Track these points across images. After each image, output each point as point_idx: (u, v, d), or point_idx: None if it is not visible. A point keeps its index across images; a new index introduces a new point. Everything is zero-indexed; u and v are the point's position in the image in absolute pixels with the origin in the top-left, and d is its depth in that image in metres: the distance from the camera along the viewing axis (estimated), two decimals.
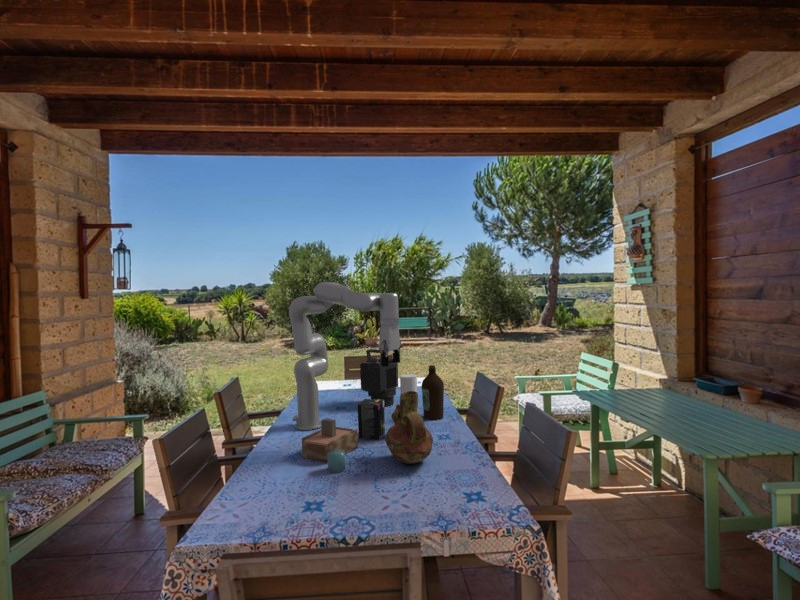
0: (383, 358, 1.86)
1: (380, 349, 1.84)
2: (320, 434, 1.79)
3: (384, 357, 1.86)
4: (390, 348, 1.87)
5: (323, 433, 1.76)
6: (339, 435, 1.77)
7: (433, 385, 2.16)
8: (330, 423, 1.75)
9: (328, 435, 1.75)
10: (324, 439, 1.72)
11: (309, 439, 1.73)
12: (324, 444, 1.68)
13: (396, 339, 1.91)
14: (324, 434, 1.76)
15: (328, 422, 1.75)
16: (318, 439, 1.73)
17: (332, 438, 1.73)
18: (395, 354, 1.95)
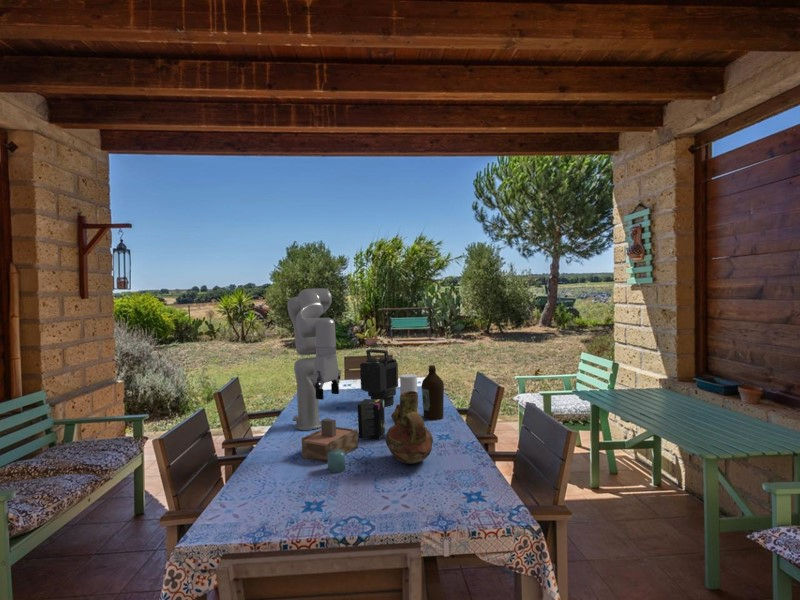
0: (317, 390, 1.71)
1: (313, 381, 1.69)
2: (320, 434, 1.79)
3: (318, 389, 1.71)
4: (325, 379, 1.72)
5: (323, 433, 1.76)
6: (339, 435, 1.77)
7: (433, 385, 2.16)
8: (330, 423, 1.75)
9: (328, 435, 1.75)
10: (324, 439, 1.72)
11: (309, 439, 1.73)
12: (324, 444, 1.68)
13: (333, 370, 1.76)
14: (324, 434, 1.76)
15: (328, 422, 1.75)
16: (318, 439, 1.73)
17: (332, 438, 1.73)
18: (333, 385, 1.80)
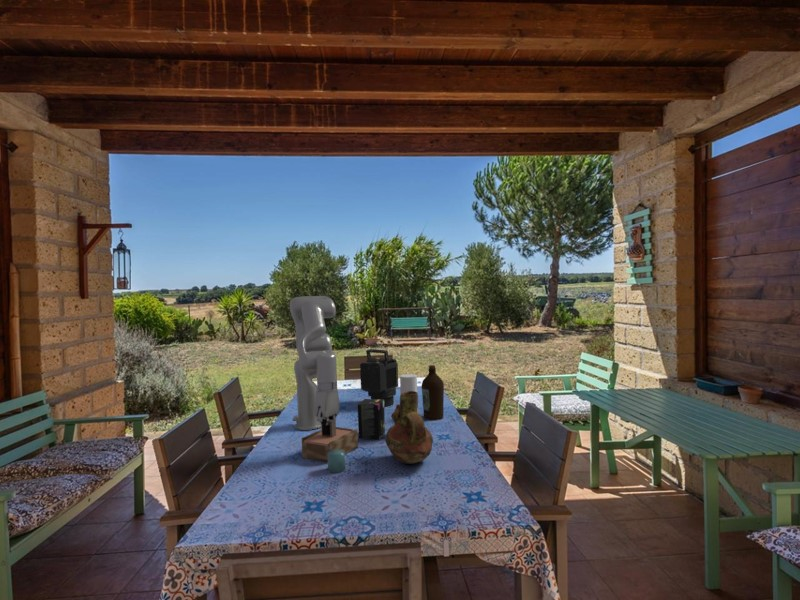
0: (324, 427, 1.74)
1: (319, 421, 1.72)
2: (320, 434, 1.79)
3: (325, 426, 1.74)
4: (326, 415, 1.72)
5: None
6: (339, 435, 1.77)
7: (433, 385, 2.16)
8: (330, 423, 1.75)
9: None
10: (324, 439, 1.72)
11: (309, 439, 1.73)
12: (324, 444, 1.68)
13: (334, 404, 1.76)
14: None
15: None
16: (318, 439, 1.73)
17: (332, 438, 1.73)
18: None
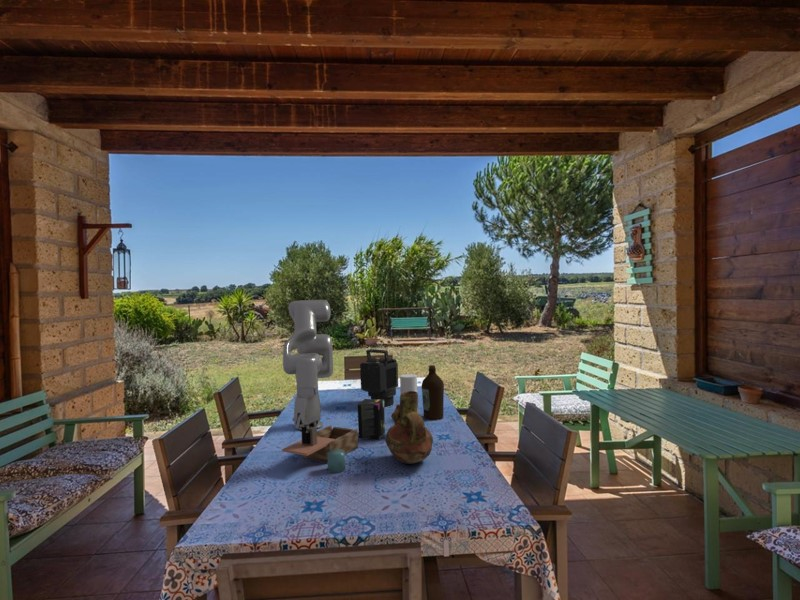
0: (304, 435, 1.64)
1: None
2: (300, 442, 1.69)
3: (305, 434, 1.64)
4: (306, 422, 1.62)
5: None
6: (320, 443, 1.66)
7: (433, 385, 2.16)
8: (310, 430, 1.64)
9: None
10: (304, 448, 1.62)
11: (288, 448, 1.62)
12: (303, 453, 1.57)
13: (315, 410, 1.66)
14: None
15: (309, 430, 1.65)
16: (298, 448, 1.62)
17: (312, 447, 1.63)
18: None
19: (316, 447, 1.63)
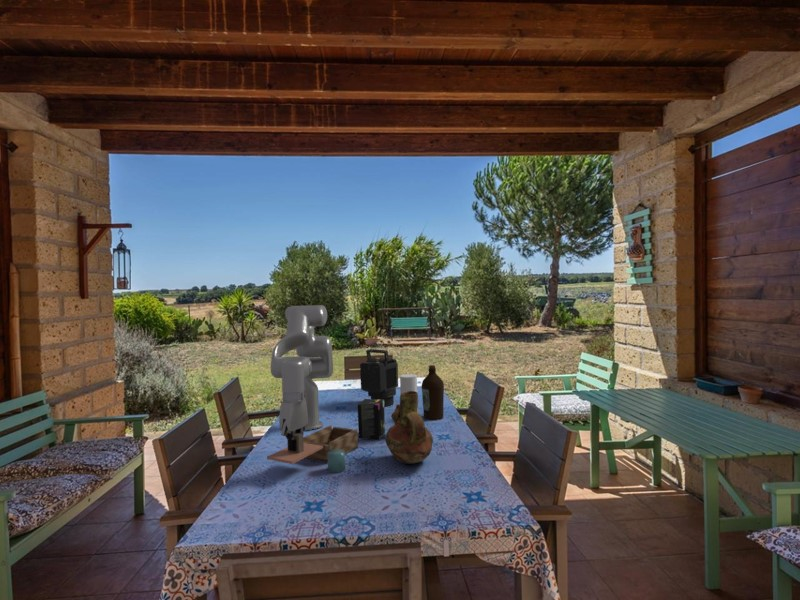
0: (290, 441, 1.58)
1: (284, 435, 1.55)
2: (286, 449, 1.62)
3: (291, 440, 1.57)
4: (292, 428, 1.55)
5: None
6: (307, 450, 1.60)
7: (433, 385, 2.16)
8: (297, 437, 1.58)
9: (295, 451, 1.58)
10: (289, 455, 1.56)
11: (273, 455, 1.56)
12: (288, 461, 1.51)
13: (301, 416, 1.59)
14: None
15: (295, 436, 1.58)
16: (283, 455, 1.56)
17: (299, 454, 1.56)
18: None
19: (302, 454, 1.56)
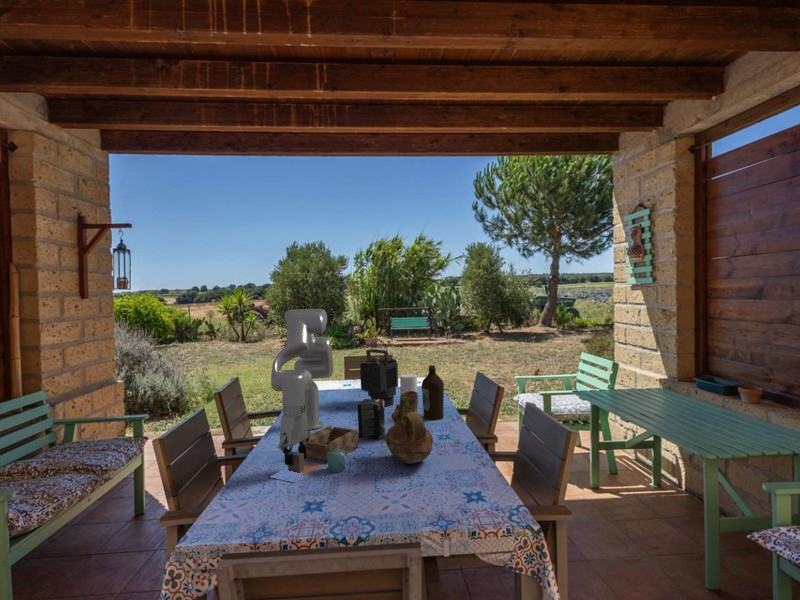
0: (286, 456, 1.56)
1: (280, 448, 1.53)
2: None
3: (287, 455, 1.56)
4: (292, 442, 1.55)
5: (290, 468, 1.60)
6: (308, 470, 1.60)
7: (433, 385, 2.16)
8: (297, 457, 1.58)
9: (295, 470, 1.59)
10: None
11: None
12: None
13: (302, 430, 1.59)
14: (291, 469, 1.60)
15: (296, 456, 1.58)
16: None
17: None
18: (301, 448, 1.63)
19: (303, 474, 1.56)
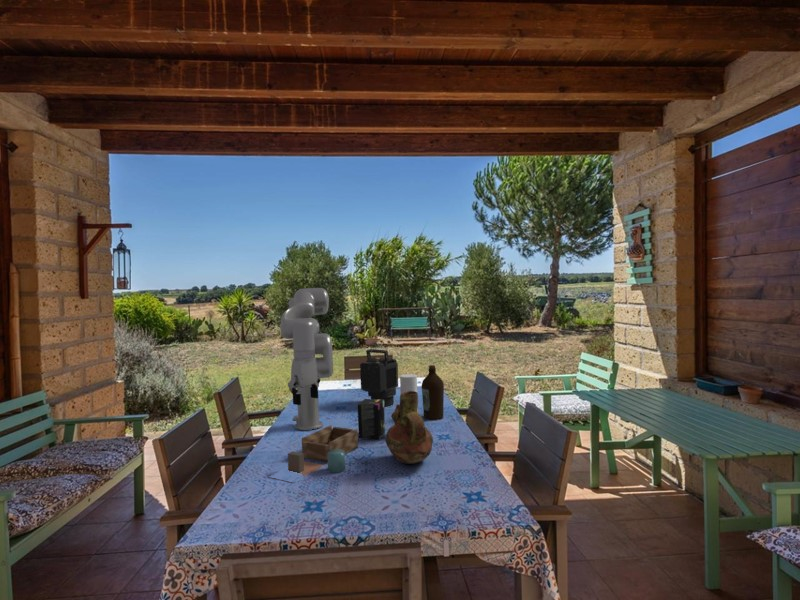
0: (294, 396, 1.64)
1: (289, 386, 1.62)
2: None
3: (295, 395, 1.64)
4: (302, 384, 1.65)
5: (290, 468, 1.60)
6: (307, 470, 1.60)
7: (433, 385, 2.16)
8: (297, 457, 1.58)
9: (295, 470, 1.59)
10: None
11: None
12: None
13: (312, 373, 1.68)
14: (291, 469, 1.60)
15: (295, 456, 1.58)
16: None
17: None
18: (313, 388, 1.73)
19: None
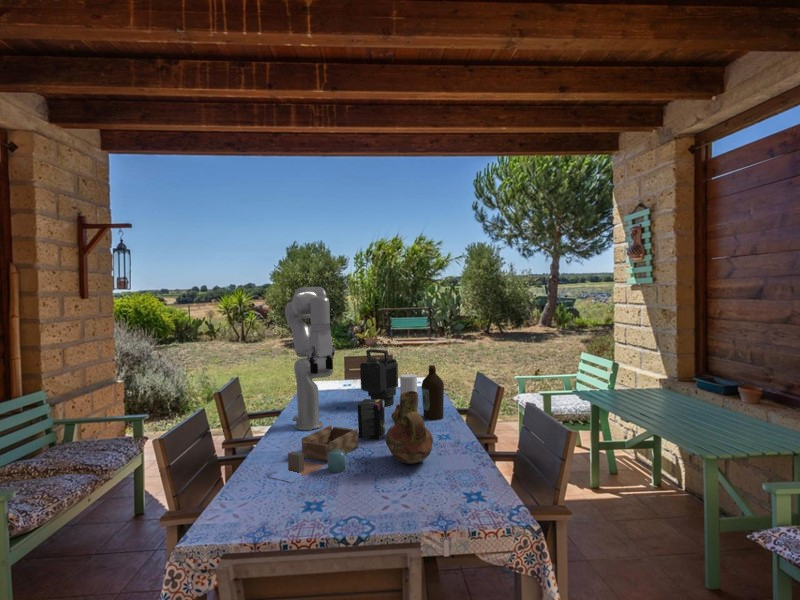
0: (312, 365, 1.78)
1: (308, 356, 1.76)
2: None
3: (313, 364, 1.78)
4: (319, 354, 1.79)
5: (290, 468, 1.60)
6: (307, 470, 1.60)
7: (433, 385, 2.16)
8: (297, 457, 1.58)
9: (295, 470, 1.59)
10: None
11: None
12: None
13: (327, 345, 1.83)
14: (291, 469, 1.60)
15: (295, 456, 1.58)
16: None
17: None
18: (328, 360, 1.87)
19: (302, 475, 1.56)
